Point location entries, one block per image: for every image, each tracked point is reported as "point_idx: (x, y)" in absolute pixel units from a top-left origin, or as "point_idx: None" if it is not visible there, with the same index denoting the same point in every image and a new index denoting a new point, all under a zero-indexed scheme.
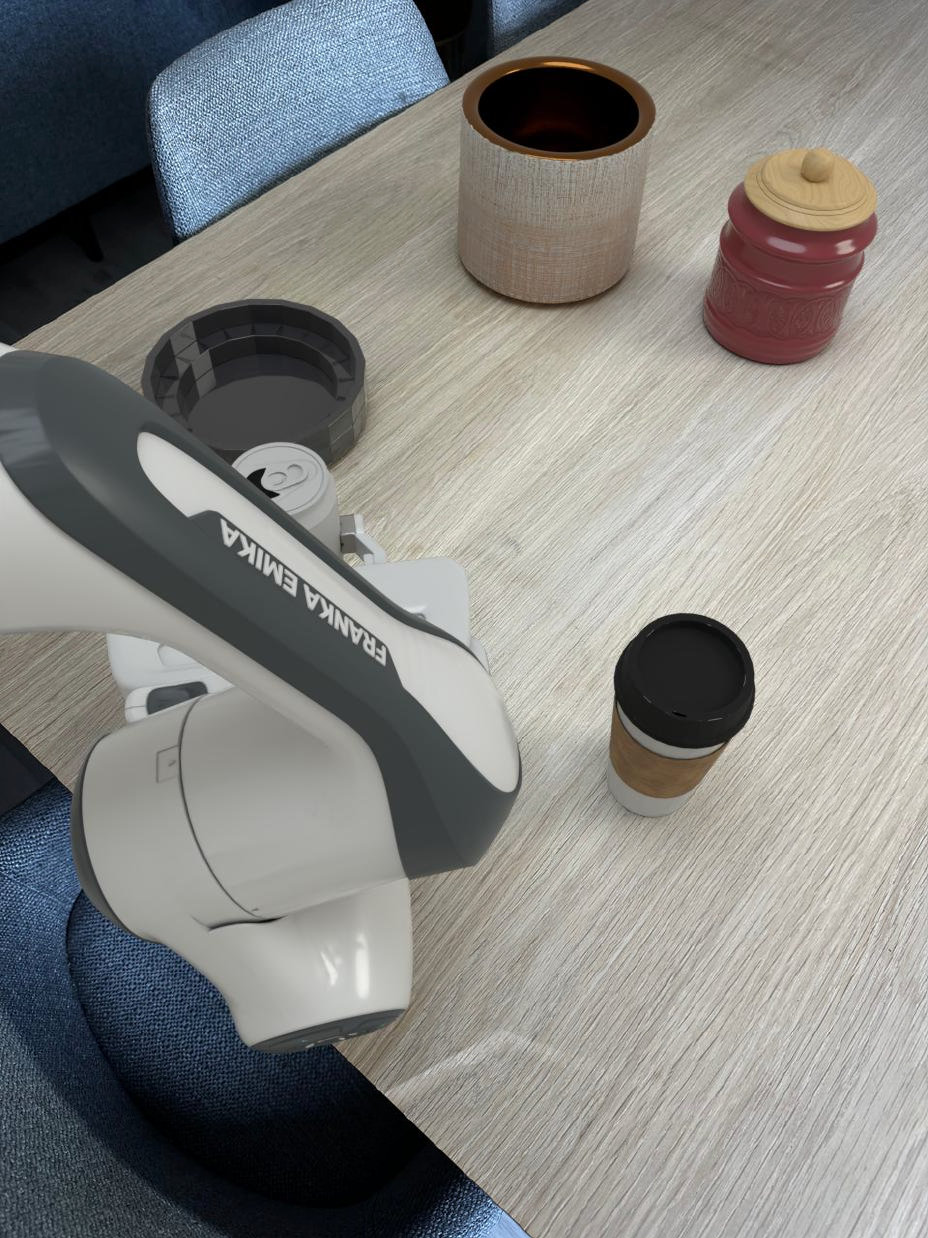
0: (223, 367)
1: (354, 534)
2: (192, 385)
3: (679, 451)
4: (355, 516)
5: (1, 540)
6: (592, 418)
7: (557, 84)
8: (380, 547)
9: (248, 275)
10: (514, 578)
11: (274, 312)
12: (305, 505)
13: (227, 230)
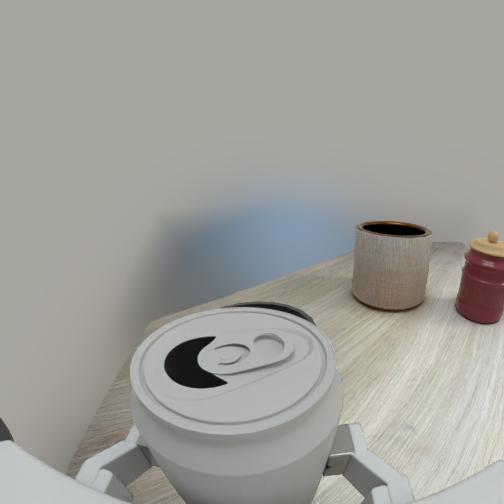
0: None
1: (352, 454)
2: None
3: (475, 363)
4: (351, 427)
5: None
6: (433, 354)
7: (387, 230)
8: (397, 472)
9: (259, 301)
10: (415, 450)
11: (268, 308)
12: (283, 414)
13: (253, 288)
